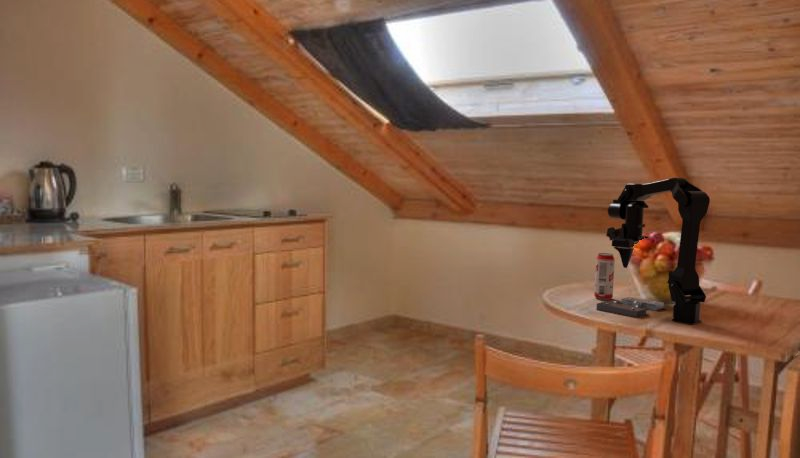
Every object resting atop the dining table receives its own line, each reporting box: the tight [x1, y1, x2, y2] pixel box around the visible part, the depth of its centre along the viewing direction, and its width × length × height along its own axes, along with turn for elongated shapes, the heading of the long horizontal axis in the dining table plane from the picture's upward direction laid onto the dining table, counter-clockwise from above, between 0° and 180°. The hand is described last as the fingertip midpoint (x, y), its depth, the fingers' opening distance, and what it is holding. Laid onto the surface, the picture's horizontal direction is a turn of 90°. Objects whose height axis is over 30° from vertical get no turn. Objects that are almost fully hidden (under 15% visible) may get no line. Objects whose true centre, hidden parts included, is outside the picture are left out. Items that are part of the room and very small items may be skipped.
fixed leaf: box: [596, 300, 648, 318], centre depth 206 cm, size 14×8×2 cm, turn 42°
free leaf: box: [620, 296, 665, 312], centre depth 214 cm, size 12×8×2 cm
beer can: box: [594, 252, 616, 301], centre depth 225 cm, size 6×6×16 cm
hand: (631, 266), depth 216 cm, fingers open, 9 cm apart
